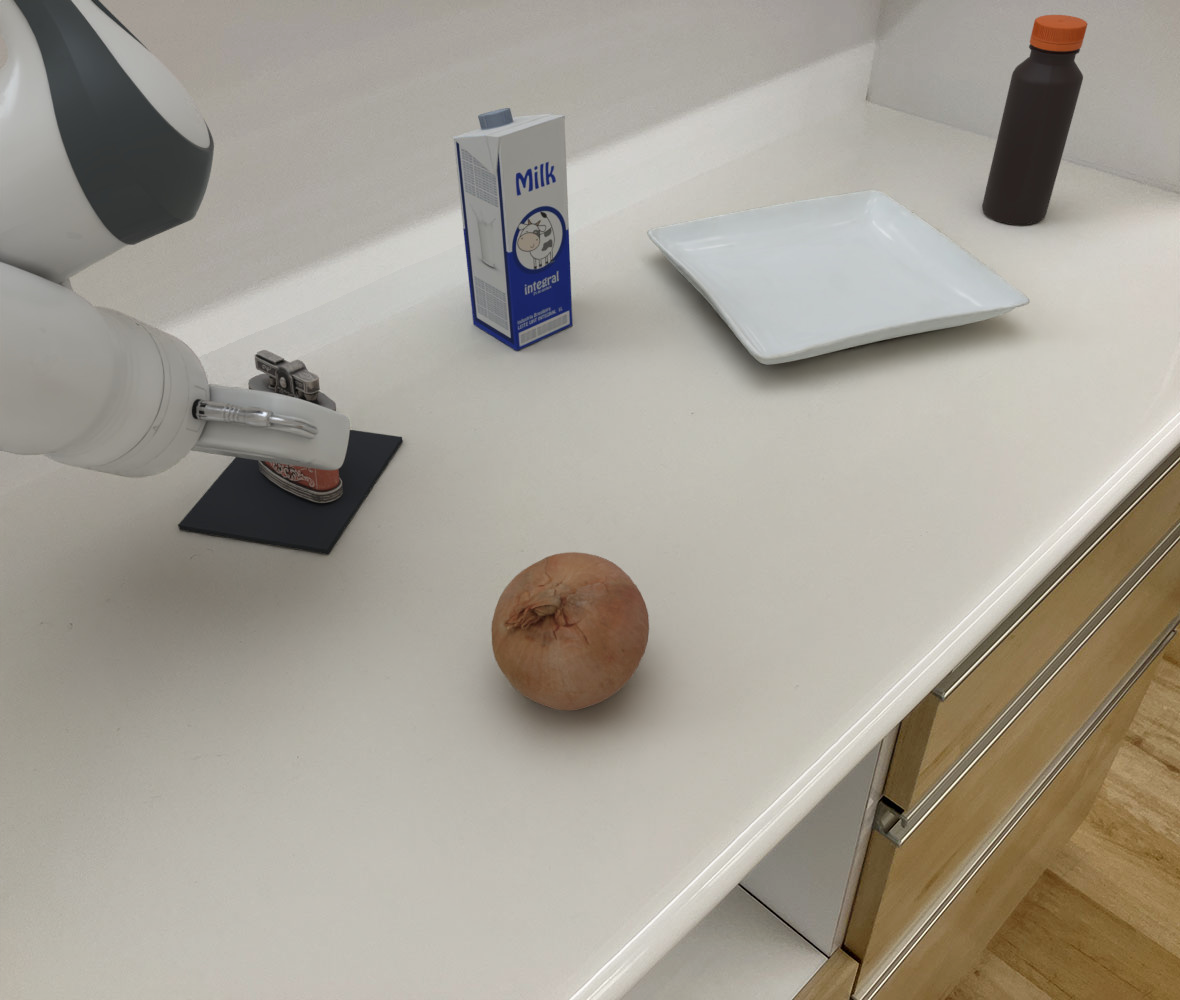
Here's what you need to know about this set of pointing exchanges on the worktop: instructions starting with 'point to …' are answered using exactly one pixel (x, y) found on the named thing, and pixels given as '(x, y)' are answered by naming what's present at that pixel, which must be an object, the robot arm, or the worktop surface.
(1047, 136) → the bottle
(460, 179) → the milk carton
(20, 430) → the robot arm
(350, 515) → the mat
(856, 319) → the square plate
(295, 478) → the lighter
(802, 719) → the worktop surface
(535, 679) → the onion
